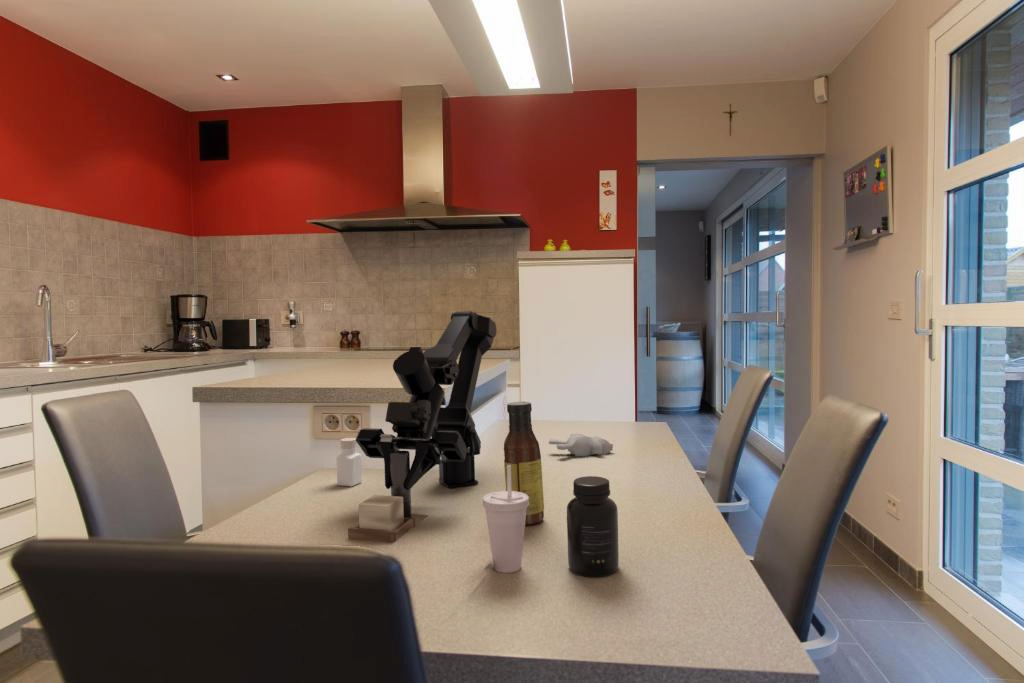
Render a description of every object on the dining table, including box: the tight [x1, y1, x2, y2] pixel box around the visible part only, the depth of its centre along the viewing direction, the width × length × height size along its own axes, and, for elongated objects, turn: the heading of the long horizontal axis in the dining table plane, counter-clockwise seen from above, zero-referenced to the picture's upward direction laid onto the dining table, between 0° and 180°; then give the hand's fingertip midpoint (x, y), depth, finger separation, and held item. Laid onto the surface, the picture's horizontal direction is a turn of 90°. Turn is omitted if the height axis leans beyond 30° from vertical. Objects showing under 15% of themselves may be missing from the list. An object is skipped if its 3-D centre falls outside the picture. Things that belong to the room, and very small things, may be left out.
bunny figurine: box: [548, 433, 614, 458], centre depth 152 cm, size 10×5×15 cm
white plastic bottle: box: [336, 437, 363, 487], centre depth 129 cm, size 4×4×10 cm
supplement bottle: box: [566, 475, 620, 578], centre depth 83 cm, size 7×7×12 cm
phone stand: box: [347, 450, 430, 544], centre depth 99 cm, size 13×8×12 cm, turn 164°
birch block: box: [358, 494, 404, 531], centre depth 96 cm, size 5×5×5 cm
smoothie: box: [481, 465, 529, 574], centre depth 84 cm, size 6×6×14 cm
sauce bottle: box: [503, 401, 545, 526], centre depth 103 cm, size 7×6×20 cm
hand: (396, 488), depth 101 cm, fingers closed on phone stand, 3 cm apart
